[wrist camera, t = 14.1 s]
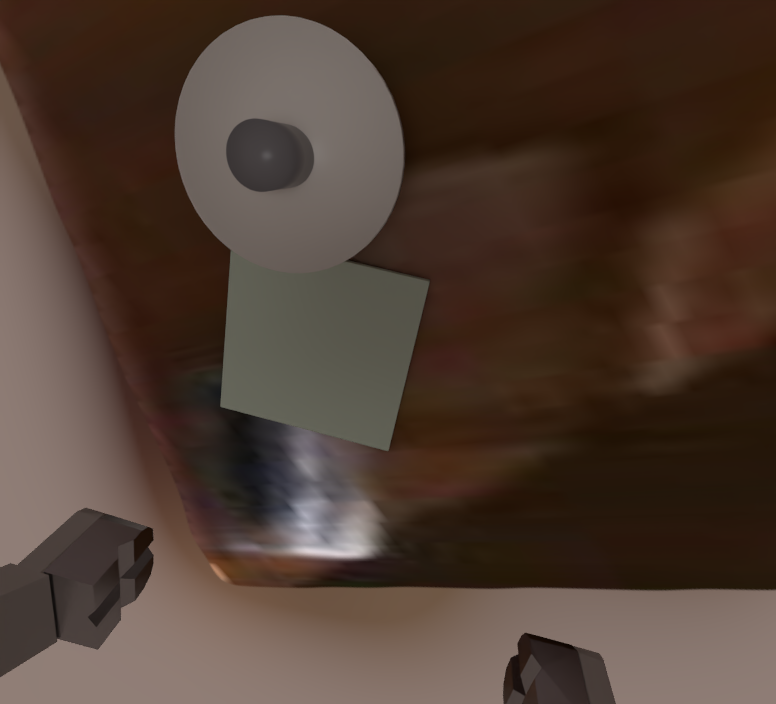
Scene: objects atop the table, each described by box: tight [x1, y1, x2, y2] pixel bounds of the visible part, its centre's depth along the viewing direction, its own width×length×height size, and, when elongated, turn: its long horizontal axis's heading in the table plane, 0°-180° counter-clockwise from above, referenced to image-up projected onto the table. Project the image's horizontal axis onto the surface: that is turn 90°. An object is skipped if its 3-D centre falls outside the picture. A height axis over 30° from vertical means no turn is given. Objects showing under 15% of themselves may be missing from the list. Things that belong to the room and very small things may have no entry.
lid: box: [175, 15, 405, 273], centre depth 27 cm, size 14×14×5 cm
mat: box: [220, 250, 430, 451], centre depth 40 cm, size 16×16×1 cm
